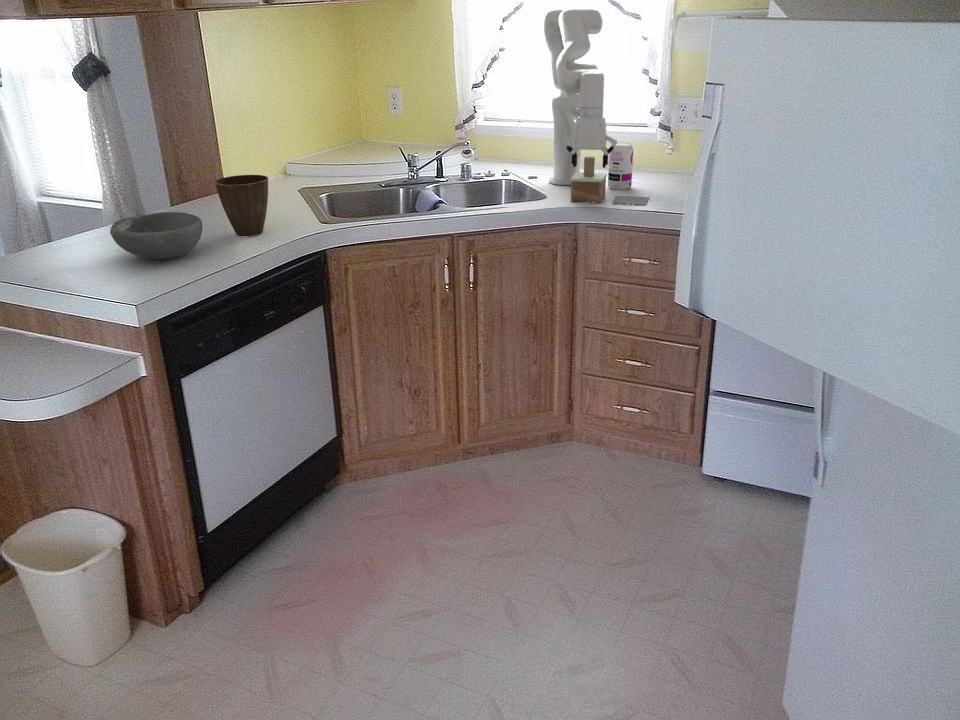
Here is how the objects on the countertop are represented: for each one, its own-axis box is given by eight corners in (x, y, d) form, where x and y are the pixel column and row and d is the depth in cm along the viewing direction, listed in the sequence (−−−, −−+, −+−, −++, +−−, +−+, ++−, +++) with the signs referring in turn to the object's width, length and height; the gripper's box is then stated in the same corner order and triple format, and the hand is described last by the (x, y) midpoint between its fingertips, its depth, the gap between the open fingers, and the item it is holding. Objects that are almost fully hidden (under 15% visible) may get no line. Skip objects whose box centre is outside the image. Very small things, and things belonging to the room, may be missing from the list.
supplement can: (630, 185, 291) (632, 142, 285) (631, 190, 283) (634, 146, 277) (607, 185, 291) (609, 142, 285) (608, 190, 284) (610, 146, 278)
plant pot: (212, 238, 237) (203, 183, 230) (242, 225, 250) (235, 173, 243) (256, 242, 232) (248, 186, 225) (284, 229, 245) (278, 175, 238)
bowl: (143, 275, 206) (136, 236, 202) (102, 259, 220) (94, 222, 216) (223, 254, 222) (217, 218, 218) (180, 240, 235) (174, 206, 231)
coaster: (615, 196, 274) (615, 195, 274) (648, 198, 272) (648, 196, 271) (611, 204, 265) (611, 203, 265) (645, 205, 262) (645, 204, 262)
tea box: (575, 195, 277) (576, 174, 275) (605, 196, 275) (606, 175, 272) (570, 202, 269) (571, 180, 266) (601, 203, 266) (601, 182, 263)
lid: (575, 177, 275) (576, 154, 272) (606, 178, 273) (607, 155, 269) (570, 184, 266) (571, 159, 263) (602, 185, 263) (603, 160, 260)
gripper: (562, 113, 259) (561, 168, 266) (616, 114, 255) (614, 169, 261) (566, 111, 266) (565, 164, 273) (619, 111, 261) (617, 165, 268)
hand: (589, 166), depth 267 cm, fingers open, 9 cm apart
